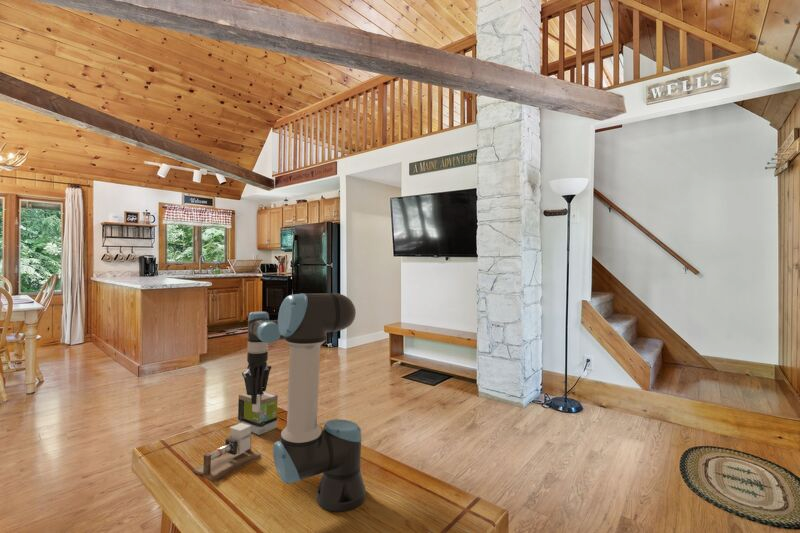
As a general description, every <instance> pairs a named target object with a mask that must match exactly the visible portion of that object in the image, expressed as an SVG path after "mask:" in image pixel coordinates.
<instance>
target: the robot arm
mask: <svg viewBox="0 0 800 533" xmlns="http://www.w3.org/2000/svg"><path fill="white" fill-rule="evenodd" d="M277 315H278V316H277V319H274V320H273V319H271V320H270V314H269V312H267V311H251V312H249V314H248V319H247V354H246V356H247V358H246V359H247V363H248V364H247V367H246V368H247V370H246V371H243V372H242V373H241V375H242V377H243V379H244V385H245V391H246V392H247V395H250V396H251V403H252V411H253V412H260V402H261V395H263V394H264V392H267V386H268V381H269V377H270V372H271V369H272V366H271V365H268V363H267V361H268V358H269V354H268V353H269V352H268V350H269V344H272V343H276V342H277V341H282V340H283V341H284V342H285V343H286V344H287V345H288V346H289V361H288V365H289V366H288V387H287V388H288V389H287V390H288V391H287V413H286V414H287V415H286V416H287V417H286V427H284V428H283V429H282V430H281V432H280V440H277V441H276V442H274V443H273V446H272V455H273V461H274V466H275V469H276V471H277V475H278V477H279V479H280V480H281V481H282V482H283V483H284V484H292V483H296V482H301V481H302V480H305V479H308V478H312V477H314V476H318V475H321V474H322V475H321V478H320V481H319V484H318V487H317V489H316V502H317V504H318V505H319V506H320V507H321V508H322V509H324V510H326V511H329V512H334V513H338V512H340V513H341V512H347V511H352V510H353V509H356V508H357V507H359V506H360V505H362V504H363V502H364V501H365V498H366V486H365V484H364V479H363V476H362V473H361V462H362V460H361V456H362V455H361V453H362V440H363V439H362V430H361V427H360V425H358V423H356V422H354V421H351V420H347V419H337V418H335V419H330V420H328V421H326V422H325V423H324V425H323V429H322V428H321V427H320V426H319V425H318V410H319V409H318V407H319V405H318V404H319V382H320V381H319V380H320V361H321V360H320V359H321V346H322V345H323V344H324V343H325V342H326V341H327V333H334V332H339V331H342V330H345V329H348V328H349V327H350V326H351V325H352V324H353V323H354V320H355V318H356V308H355V304H354V303H353V301H352V300H351V298H349V297H348V296H346V295H344V294H341V293H338V292H330V293H329V292H328V293H326V292H325V293H303V292H302V293H295V294H290V295H287V296H286V297H285V298H284V299H283V301H282V302H281V305H280V307H279V311H278V314H277ZM263 391H264V392H263ZM246 392H245V393H246Z"/></svg>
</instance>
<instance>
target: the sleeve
mask: <svg viewBox="0 0 800 533" xmlns="http://www.w3.org/2000/svg"><path fill="white" fill-rule="evenodd" d="M229 439H232V440H236V441H238V447H237V448H238V454H241V453H243V452H245V451H247V450H248V449H250V447H251V448H252V432H251V426H250V425H247V424H243V423H239V424H238V423H237V424H235V425H233V426H230V427H229ZM229 444H230V442H229ZM232 451H233V450H232Z"/></svg>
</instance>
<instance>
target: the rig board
mask: <svg viewBox="0 0 800 533" xmlns="http://www.w3.org/2000/svg"><path fill="white" fill-rule="evenodd" d="M261 456H262V454H261V453H259V452H256V451H253V450H252V446H251V447H250V449H248V450H247V451H245V452H243V453H241V454H238V448H237V454H235V455H232V454H230V453H225V454H223V455H221V456H220V457H218V458H215V459H213V460H211V455H210V454H209V453H205V454H203V464H201V465H199V466H197V467H195V468H193V469H192V470H193V472H192V473H193V474H196V473H197V474H196V475H199V476H201V475H202V476H201V477H204V476H205V477H204V478H206V477H207V479H209V478H210V479H209V480H211V479H212V480H211V481H214V482H219V481H220V480H222V479H224V478H226V477H228V476H230V475H232V474H233V473H235V472H237V471H238V470H241V468H243V467H246V466H247V465H249V464H251V463H252V462H254V461H256V460H257V459H260V458H261Z"/></svg>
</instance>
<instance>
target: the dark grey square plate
mask: <svg viewBox="0 0 800 533" xmlns="http://www.w3.org/2000/svg"><path fill="white" fill-rule="evenodd" d="M224 441H225V445H224V446H226V445H228V444H229V442H230V443H233V451H232V450H231V451H229V452H227V453H230V454H232V455H235V454H237V441H236V440H232V439H230V437H228V438H225V440H224Z"/></svg>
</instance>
